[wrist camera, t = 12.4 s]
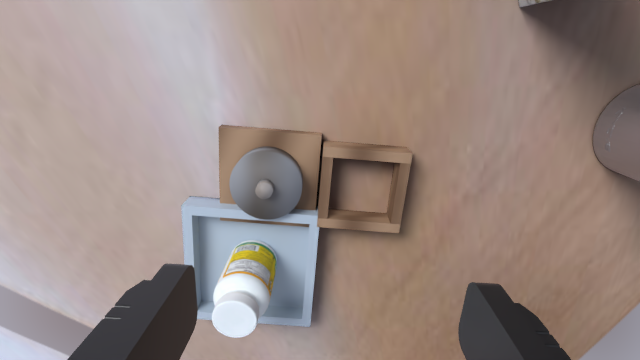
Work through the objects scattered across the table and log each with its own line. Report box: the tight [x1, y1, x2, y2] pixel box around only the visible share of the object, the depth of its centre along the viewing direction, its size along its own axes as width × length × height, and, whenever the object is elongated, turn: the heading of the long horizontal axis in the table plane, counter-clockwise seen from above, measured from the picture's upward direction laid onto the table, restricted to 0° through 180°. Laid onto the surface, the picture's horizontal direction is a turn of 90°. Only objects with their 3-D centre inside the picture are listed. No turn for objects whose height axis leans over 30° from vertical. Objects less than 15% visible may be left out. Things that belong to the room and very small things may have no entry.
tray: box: [181, 196, 319, 327], centre depth 39 cm, size 14×14×2 cm
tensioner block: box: [219, 125, 413, 233], centre depth 35 cm, size 19×10×4 cm, turn 85°
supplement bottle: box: [212, 240, 277, 338], centre depth 35 cm, size 5×5×10 cm
